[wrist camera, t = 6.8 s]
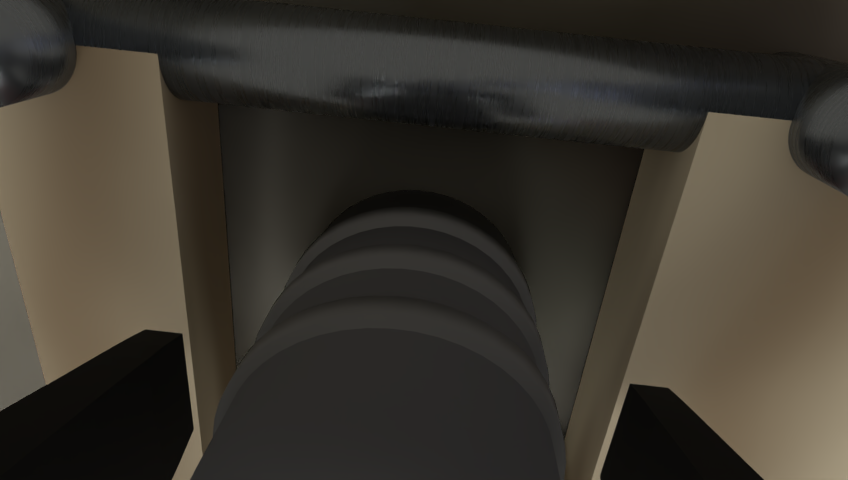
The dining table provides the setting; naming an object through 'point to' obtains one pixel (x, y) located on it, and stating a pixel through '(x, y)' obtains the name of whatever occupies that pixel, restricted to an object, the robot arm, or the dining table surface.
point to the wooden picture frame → (618, 318)
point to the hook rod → (437, 72)
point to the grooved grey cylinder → (394, 359)
